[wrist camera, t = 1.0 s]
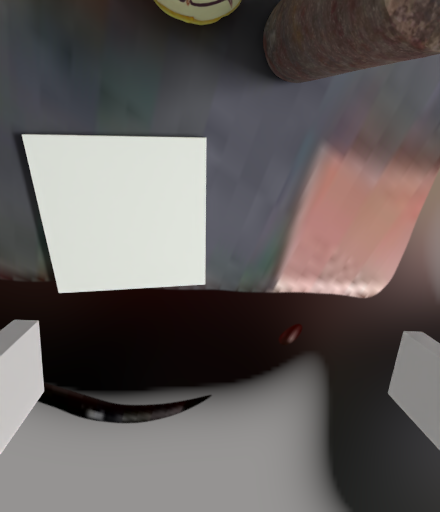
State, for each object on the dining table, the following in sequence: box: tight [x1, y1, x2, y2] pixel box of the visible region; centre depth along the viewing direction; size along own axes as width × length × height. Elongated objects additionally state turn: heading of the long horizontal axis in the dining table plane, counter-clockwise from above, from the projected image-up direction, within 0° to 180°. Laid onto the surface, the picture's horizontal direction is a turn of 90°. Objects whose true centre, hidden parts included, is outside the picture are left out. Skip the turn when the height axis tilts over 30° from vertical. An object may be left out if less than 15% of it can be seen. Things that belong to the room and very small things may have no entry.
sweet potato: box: [263, 0, 440, 83], centre depth 21 cm, size 8×7×20 cm
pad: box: [22, 134, 206, 293], centre depth 35 cm, size 18×18×1 cm
